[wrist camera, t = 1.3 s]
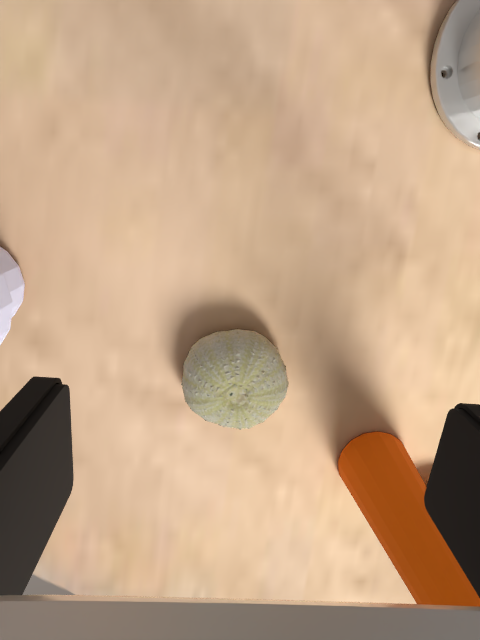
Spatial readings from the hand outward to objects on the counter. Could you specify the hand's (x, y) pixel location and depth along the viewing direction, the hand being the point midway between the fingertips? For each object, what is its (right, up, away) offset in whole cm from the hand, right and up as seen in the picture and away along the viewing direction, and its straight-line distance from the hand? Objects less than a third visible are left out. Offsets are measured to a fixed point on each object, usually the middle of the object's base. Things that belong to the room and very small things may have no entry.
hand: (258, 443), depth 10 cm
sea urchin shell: (-1, -1, +28) cm, 29 cm away
